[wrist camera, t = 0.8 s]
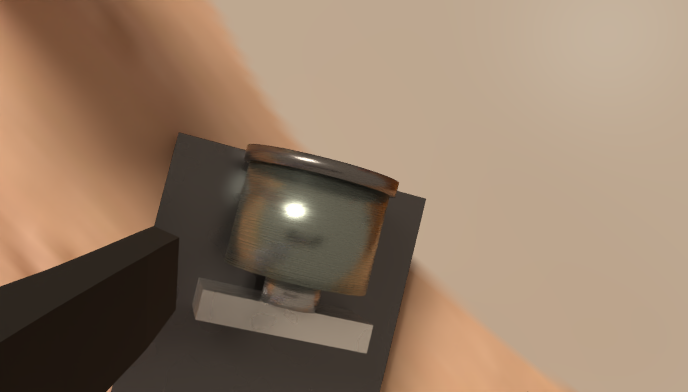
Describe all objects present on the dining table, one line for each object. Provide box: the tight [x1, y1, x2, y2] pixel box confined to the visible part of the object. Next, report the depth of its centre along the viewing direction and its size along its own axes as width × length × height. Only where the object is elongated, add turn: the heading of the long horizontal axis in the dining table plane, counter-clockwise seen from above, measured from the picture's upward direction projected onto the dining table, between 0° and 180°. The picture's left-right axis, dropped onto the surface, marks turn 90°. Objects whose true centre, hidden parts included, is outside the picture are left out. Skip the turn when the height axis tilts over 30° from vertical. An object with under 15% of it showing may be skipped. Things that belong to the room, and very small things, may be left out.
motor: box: [111, 133, 426, 392], centre depth 23 cm, size 13×10×6 cm
